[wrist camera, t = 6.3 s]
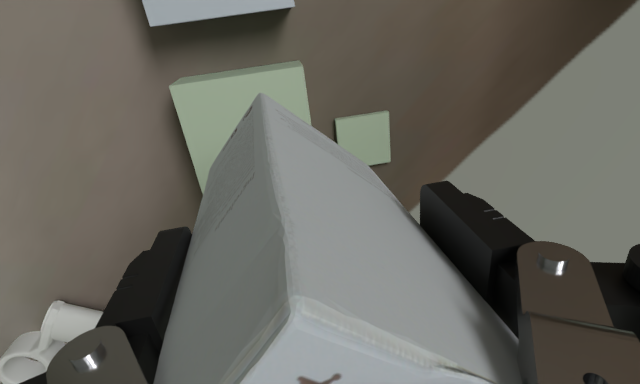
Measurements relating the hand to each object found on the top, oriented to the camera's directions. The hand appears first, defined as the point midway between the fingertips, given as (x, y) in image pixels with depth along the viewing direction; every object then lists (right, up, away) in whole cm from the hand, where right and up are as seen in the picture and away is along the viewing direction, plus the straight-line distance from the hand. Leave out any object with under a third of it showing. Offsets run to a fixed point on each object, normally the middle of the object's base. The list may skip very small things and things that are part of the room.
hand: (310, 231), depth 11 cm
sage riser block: (-6, +7, +21) cm, 23 cm away
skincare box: (-1, +2, +5) cm, 6 cm away
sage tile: (+4, +6, +23) cm, 24 cm away
